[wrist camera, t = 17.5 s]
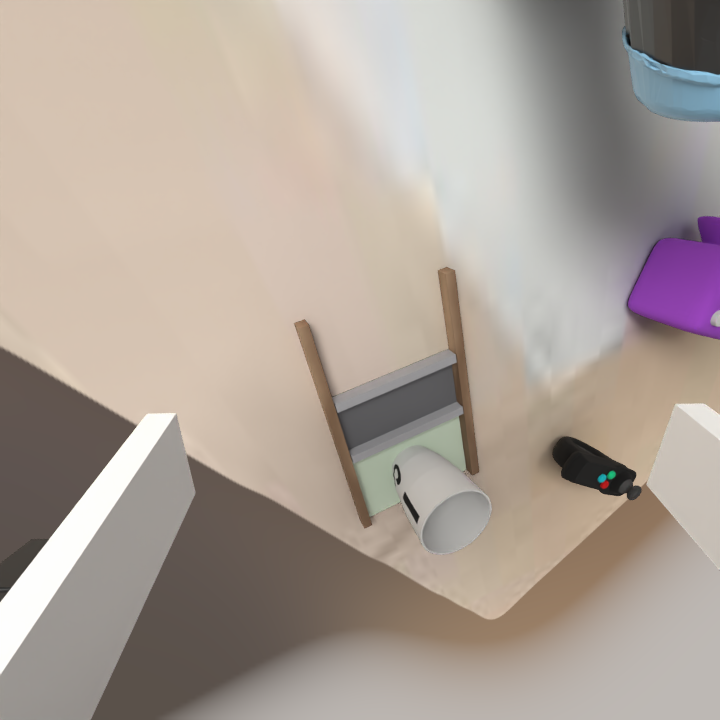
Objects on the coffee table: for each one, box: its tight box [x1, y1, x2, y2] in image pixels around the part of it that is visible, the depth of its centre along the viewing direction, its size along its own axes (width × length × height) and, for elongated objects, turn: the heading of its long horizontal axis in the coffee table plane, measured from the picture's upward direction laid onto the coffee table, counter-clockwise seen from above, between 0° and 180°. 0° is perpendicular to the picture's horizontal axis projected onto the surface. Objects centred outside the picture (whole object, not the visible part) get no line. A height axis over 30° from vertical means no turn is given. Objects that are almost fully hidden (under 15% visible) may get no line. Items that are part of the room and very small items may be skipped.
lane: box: [294, 267, 479, 528], centre depth 47 cm, size 16×27×2 cm, turn 15°
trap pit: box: [332, 349, 464, 463], centre depth 47 cm, size 14×8×2 cm, turn 105°
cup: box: [392, 445, 492, 555], centre depth 47 cm, size 8×8×10 cm
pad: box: [352, 416, 466, 517], centre depth 52 cm, size 14×10×1 cm
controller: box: [552, 437, 641, 500], centre depth 57 cm, size 4×12×10 cm, turn 64°
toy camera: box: [628, 216, 720, 339], centre depth 50 cm, size 11×14×10 cm
